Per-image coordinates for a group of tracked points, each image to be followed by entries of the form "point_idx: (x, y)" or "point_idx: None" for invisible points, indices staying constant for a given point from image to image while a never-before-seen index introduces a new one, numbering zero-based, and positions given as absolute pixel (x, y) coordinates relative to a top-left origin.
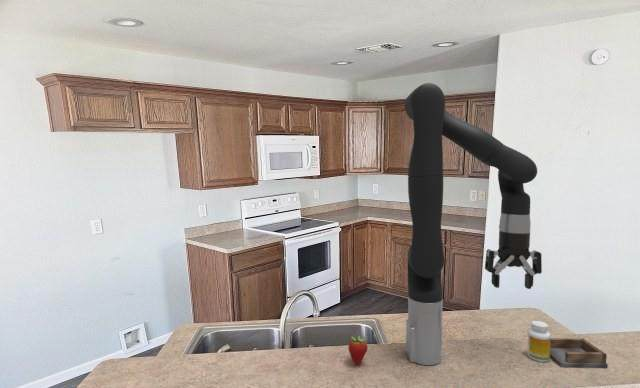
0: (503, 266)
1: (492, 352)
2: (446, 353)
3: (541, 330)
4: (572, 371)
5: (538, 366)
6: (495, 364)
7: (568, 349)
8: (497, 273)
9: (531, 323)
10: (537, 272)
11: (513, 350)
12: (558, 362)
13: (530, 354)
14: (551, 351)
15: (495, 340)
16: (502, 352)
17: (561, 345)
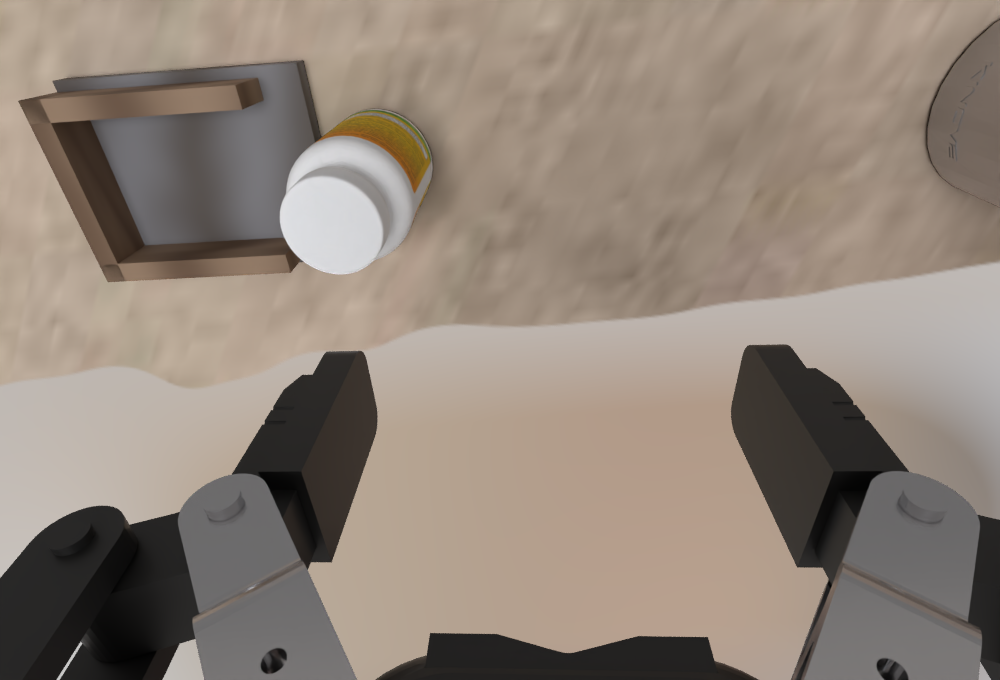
0: (907, 620)
1: (604, 193)
2: (867, 158)
3: (341, 168)
4: (256, 17)
5: (420, 57)
6: (651, 55)
7: (211, 230)
8: (911, 486)
9: (384, 237)
10: (121, 525)
11: (484, 224)
12: (303, 87)
13: (427, 151)
14: None
15: (532, 317)
16: (551, 198)
17: (236, 245)
